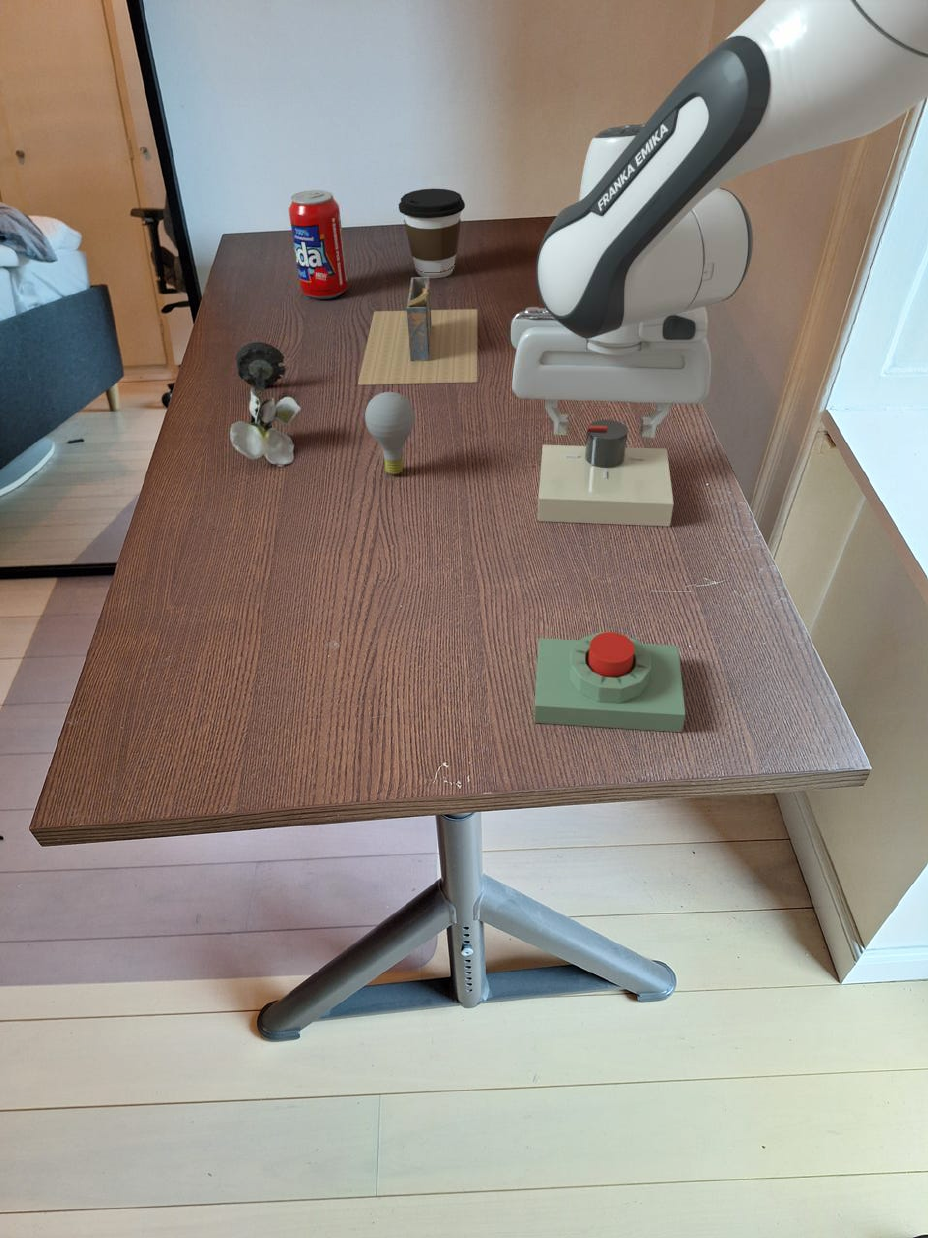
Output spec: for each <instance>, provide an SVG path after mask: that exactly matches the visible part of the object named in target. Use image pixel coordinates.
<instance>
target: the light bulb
mask: <svg viewBox="0 0 928 1238" xmlns="http://www.w3.org/2000/svg"><path fill="white" fill-rule="evenodd" d="M364 419H365V421H364V422H365V425H366V427H367V430H368V432H369V433H370V435H371V436H372V437H373V439H374V440H375V441H376V442H377V444H379V446H380V448H381V449H382V454H383V459H384V467H385V468H384V470H385V472H386V473H387V474H390V475H397V474H400V473H401V472H403V470H404V446H405V443H406V441H407V439H408V438H409V436H410V434H411V433H412V430H413V429H414V424H415V411H414V408H413V406H412V404H411V403H410V400H408V399H407V398H406V397H405V395H402V394H400V393H398V392H395V391H384V392H380V393H378V394H376V395H375V396H373V398H372V399H371V400H370V401H368V403H367V406H366V408H365V412H364Z"/></svg>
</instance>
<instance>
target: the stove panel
mask: <svg viewBox="0 0 928 1238" xmlns="http://www.w3.org/2000/svg"><path fill="white" fill-rule="evenodd" d="M541 447H542V448H541V460H540V461H541V462H540V473H539V485H538V486H539V487H538V498H537V499H538V500H537V501H538V502H537V522H541V523H542V522H545V523H569V524H592V525H594V524H595V525H614V526H615V525H619V526H641V527H667V528H670V527H671V524H672V518H673V517H672V516H673V511H674V505H675V503H674V494H673V487H672V478H671V471H670V464H669V455H668V449H667V448H666V447H665V448H663V447H661V448H660V447H632V446H626V451H625V459H624V461H623V463H622V464H620V465H618V466H616V467H611V468H602V467H597V466H594V465H591V464H590V463H588V462H587V461H586V459H585V448H586V445H571V444H570V445H567V444H566V445H564V444H542V446H541Z"/></svg>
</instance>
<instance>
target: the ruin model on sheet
mask: <svg viewBox="0 0 928 1238" xmlns="http://www.w3.org/2000/svg"><path fill="white" fill-rule="evenodd" d="M431 303H432V302H431V286H430V278H429V277H422V276H417V277H416V276H415V277H411V278H410V284H409V290H408V296H407V304H406V310H380V311H379V310H378V311H377V310H376V311H373V316H372V321H371V324H370V329H369V333H368V337H367V343H366V347H365V349H364V350H365V351H364V355H363V359H362V363H361V368H360V373H359V377H358V383H357V385H358V386H362V385H365V386H366V385H408V384H409V385H412V384H414V385H415V384H416V385H417V384H419V385H420V384H461V383H462V384H466V383H468V384H469V383H470V384H471V383H478V323H479V322H478V318H479V317H478V315H479V314H478V310H479V309H477V308H472V309H471V308H469V309H467V308H466V309H464V308H463V309H432V304H431Z"/></svg>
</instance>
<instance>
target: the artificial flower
mask: <svg viewBox="0 0 928 1238" xmlns="http://www.w3.org/2000/svg"><path fill="white" fill-rule="evenodd" d="M284 361H285V355H283V353H282V352H281V351H280V350H279V349H278V348H276V347H274V346H273V345H271V344H268V343H267V342H261V341H258V342H257V341H256V342H251V343H247V344H245V345H244V346H243V347H241V349H240V350H238V352H237V354H236V355H235V362H236V366H237V374H238V376H239V378H240V379H241V380H243V381H244V382H245V383H246V384H248V385H249V386H253V387H251V388H250V401H249V404H248V406H249V408H248V410H249V413H250V414H251V415H250V416H251V417H250V421H249V422H248V423H247V422H245V421H243V420H242V421H239V420H238V421H236V422H235V421H234V422H233V423H232V424H231V426H230V431H229V433H230V434H229V438H230V442H231V445H232V446H233V447H234V448H235V450H236V451H237V452H239V453H240V454H242V455H243V456H245V457H246V458H247V459H248V460H257V459H260V458H261V457H262V456H264V457H265V458H266V460H267V461H268V462H269V463H270V464H272V465H276V467H279V468H281V467H282V468H283V467H285V465H291V463H293V461H294V460H295V456H294V455H295V454H294V448H295V445H294V443H293V441H292V438H291V437H290V436H289V435H288V434H285V433H283V432H282V431H281V430H279V428H278V427H273V425H274V422H276V423H277V424H278V425H280V426H282V427H287V426H288V425H290V424H292V422H293V421H294V419H295V417H296V415H297V414H298V413H299V412H300V411H301V410H302V408H301V406H300V405H298V403H297V401H296V400H295V399H294V398H293V397H291V396H285V397H283V398H281V399H280V400H279V401H278V402H277V403H275V398H274V397H271V400H270V399H268V398H267V399H265V400H264V401H263V402H262V403H261V398H262V393H263V392H264V390H265V388H266V386H273V385H274V384H276V383H277V382H278V380H281V379H282V377H283V376H284V375H285V373H286V367H285V365H281V366H280V365H279V364H282V363H283V364H284V363H285V362H284ZM255 388H256V389H257V392H256V391H255ZM244 394H245V393H243V395H244Z"/></svg>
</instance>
